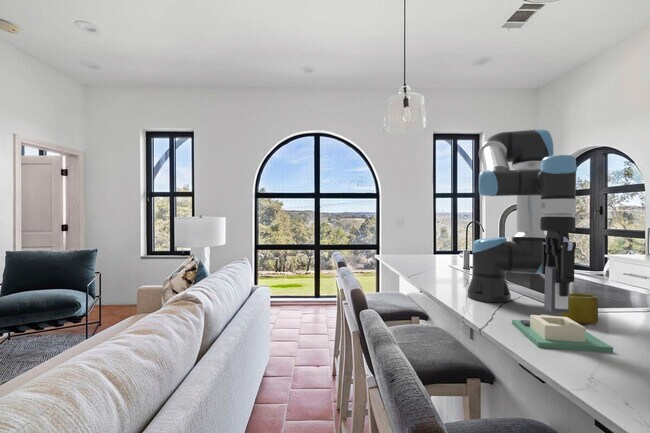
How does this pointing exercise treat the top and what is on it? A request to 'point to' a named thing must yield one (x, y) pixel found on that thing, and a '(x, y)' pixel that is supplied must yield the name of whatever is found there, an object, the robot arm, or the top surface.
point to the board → (564, 344)
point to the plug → (552, 290)
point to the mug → (582, 308)
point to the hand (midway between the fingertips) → (556, 305)
